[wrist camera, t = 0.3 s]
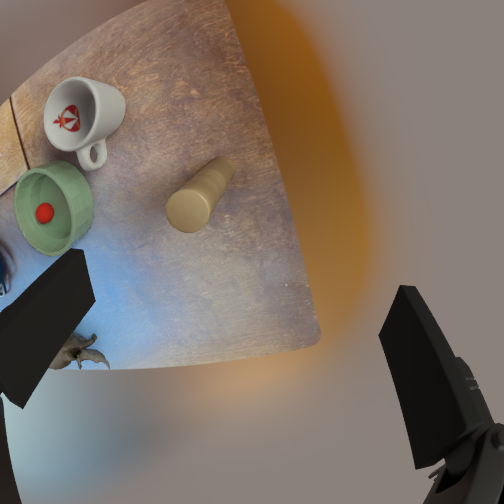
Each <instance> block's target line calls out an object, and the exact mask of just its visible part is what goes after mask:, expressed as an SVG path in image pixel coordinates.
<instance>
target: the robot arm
mask: <svg viewBox="0 0 504 504" xmlns="http://www.w3.org/2000/svg"><path fill="white" fill-rule="evenodd" d="M95 302H96V300H95V297H94V293H93V289H92V285H91V281H90V277H89V273H88V269H87V265H86V260H85V255H84V250H81V249H73V248H70V249H69V250H68V251H67V252H65V253H64V254H63V255H62V256H61V257H60V258H59V259H58V260H56V261H55V262H54V263H53V264H52V265H51V266H50V267H49V268H48V269H47V270H46V271H44V272H43V273H42V274H41V275H40V276H39V277H38V278H37V279H36V280H35V281H34V282H33V283H32V284H31V285H30V286H29V287H28V288H27V289H26V290H25V291H24V292H23V293H22V294H21V295H20V296H19V297H18V298H17V299H16V300H15V301H14V302H13V303H12V304H10V305H9V306H7V307H6V308H4V309H3V310H2V311H1V313H0V394H1V393H2V392H3V393H4V394H5V396H6V397H7V398H8V399H9V401H10V402H12V403H14V404H15V405H17V406H18V407H21V408H22V409H23V408H24V406H25V405H26V403H27V401H28V400H29V398H30V396H31V395H32V393H33V391H34V389H35V388H36V387H37V385H38V383H39V382H40V380H41V378H42V377H43V375H44V374H45V372H46V371H47V369H48V368H49V366H50V365H51V363H52V362H53V360H54V359H55V357H56V356H57V354H58V353H59V351H60V350H61V348H62V347H63V345H64V344H65V342H66V341H67V340H68V338H69V337H70V335H71V334H72V333H73V331H74V330H75V328H76V327H77V326H78V324H79V323H80V322H81V320H82V319H83V317H84V316H85V315H86V313H87V312H88V311H89V309H90V308H91V307H92V305H93V304H94V303H95ZM379 338H380V341H381V344H382V347H383V350H384V353H385V356H386V359H387V362H388V366H389V369H390V372H391V375H392V378H393V382H394V385H395V388H396V392H397V395H398V398H399V402H400V406H401V410H402V413H403V417H404V421H405V425H406V429H407V433H408V437H409V441H410V446H411V450H412V454H413V459H414V464H415V469H416V470H417V469H421V468H425V467H429V466H432V465H435V464H436V463H437V462H438V461H440V460H441V459H443V458H444V459H445V464H444V465H443V466H441V467H440V468H438V469H437V470H435V471H434V472H432V473H431V475H430V476H429V477H428V478H430V479H431V478H432V477H434V476H435V475H437V474H438V475H437V477H436V478H435V479H434V481H435V482H434V484H433V486H432V488H431V490H430V491H429V493H428V495H427V497H426V499H425V501H424V503H423V504H504V425H503V424H500V423H497V424H495V423H494V421H493V419H492V417H491V414H490V412H489V409H488V407H487V404H486V402H485V400H484V397H483V395H482V393H481V391H480V389H478V387H479V386H478V384H477V382H476V380H474V376H473V374H472V372H471V370H470V368H469V366H468V365H467V364H466V363H465V362H464V361H463V360H462V359H461V358H460V357H455V355H454V353H453V351H452V349H451V348H450V346H449V344H448V342H447V340H446V338H445V336H444V334H443V333H442V331H441V329H440V327H439V326H438V324H437V322H436V320H435V318H434V317H433V315H432V313H431V311H430V310H429V308H428V306H427V305H426V303H425V301H424V300H423V298H422V296H421V295H420V293H419V292H418V290H417V288H416V287H415V286H405V285H400V286H399V289H398V291H397V294H396V296H395V299H394V301H393V304H392V306H391V308H390V311H389V313H388V315H387V318H386V320H385V322H384V324H383V327H382V329H381V331H380V333H379ZM0 504H22V503H21V499H20V496H19V493H18V489H17V485H16V481H15V478H14V473H13V469H12V464H11V459H10V454H9V448H8V443H7V435H6V427H5V418H4V407H3V400H2V398H1V397H0Z"/></svg>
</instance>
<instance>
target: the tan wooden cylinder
mask: <svg viewBox="0 0 504 504" xmlns="http://www.w3.org/2000/svg"><path fill="white" fill-rule="evenodd" d="M234 174H235V165H234V163H233V162H232V160H230V159H229V158H227V157H217V158H215V159H214V160H212V161H211V162H210V163H209V164H208V165H206V166H205V167H204V168H203V169H201V170H200V171H199V172H198V173H197V174H195V175H194V176H193V177H192V178H191V179H190V180H188V181H187V182H186V183H185V184H184V185H183V186H181V187H180V188H179V189H178V190H177V191H176V192H175V193H173V194H172V195H171V196H170V197H169V199H168V201H167V203H166V216H167V219H168V221H169V222H170V224H171V225H172V226H173V227H174V228H176V229H177V230H179V231H181V232H185V233H193V232H197V231H199V230H201V229H202V228H203V227H204V226H205V225H206V223H207V222H208V220H209V218H210V216H211V214H212V213H213V211H214V209H215V207H216V205H217V204H218V202H219V200H220V198H221V197H222V195H223V193H224V191H225V190H226V188H227V186H228V184H229V183H230V181H231V179H232V178H233V176H234Z"/></svg>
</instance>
